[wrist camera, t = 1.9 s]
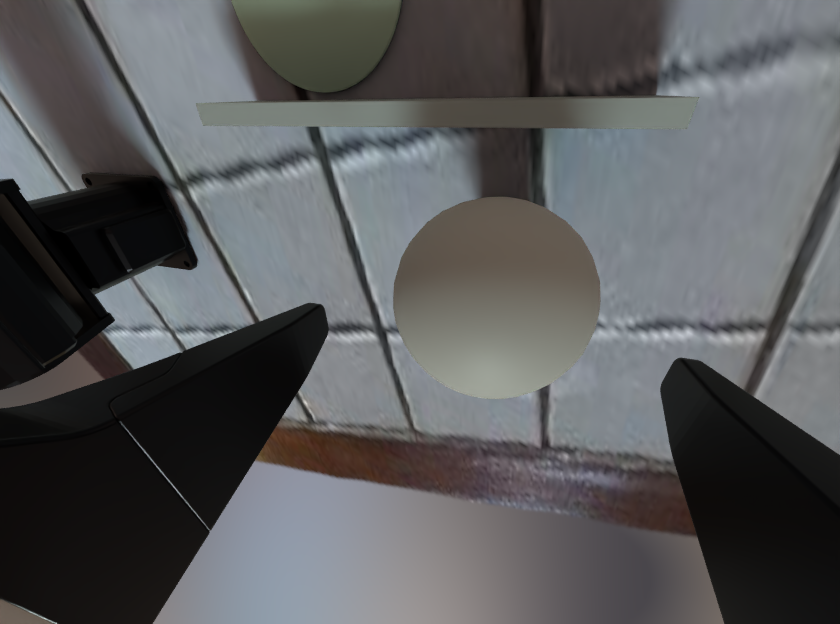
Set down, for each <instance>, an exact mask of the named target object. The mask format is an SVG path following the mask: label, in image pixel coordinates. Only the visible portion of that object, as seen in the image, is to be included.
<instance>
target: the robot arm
mask: <svg viewBox="0 0 840 624" xmlns="http://www.w3.org/2000/svg"><path fill="white" fill-rule="evenodd" d="M82 179H83V182H84V183H85V185H86V187H87V188H85V189H80V190H76V191H71V192H67V193H62V194H58V195H53V196H49V197H44V198H40V199H35V200H31V201H26V200H25V198H24V197H23V196H22V194H21V193H20V191H19V190H21V189H20V188H19V186H18V185H17V184H16V182H15V181H14V179H0V390H2V389H6V388H10V387H13V386H16V385H19V384H22V383H24V382H27V381H29V380H32V379H34V378H36V377H38V376H40V375H42V374H44V373H46V372H48V371H49V370H51V369H53V368H54V367H56V366H57V365H59V364H60V363H62V362H63V361H64V360H65V359H67V358H68V357H69V356H71V355H72V354H73V353H74V352H76V351H77V350H78V349H80V348H81V347H82V346H83V345H85V344H86V343H87V342H88V341H90V340H91V339H92V338H94V337H95V336H96V335H97V334H99V333H100V332H101V331H102V330H104V329H105V328H106V327H108V326H109V325H110V324H111V323H113V322H114V321H115V319H114V318H113V316H112V315H111V314H110V313H108V312H107V311H106V310H105V308H104V307H103V306H102V304H101V303H100V301H99V300H98V299H97V297H96V296H95V294H97V293H99V292H101V291H103V290H106V289H108V288H110V287H112V286H114V285H116V284H118V283H120V282H123V281H125V280H127V279H129V278H131V277H133V276H135V275H138V274H140V273H142V272H144V271H146V270H148V269H150V268H152V267H155V266H164V267H171V268H179V269H186V270H192V269H194V268H196V267H197V262H196V260H195V258H194V255H193V253H192V251H191V248H190V246H189V244H188V241H187V239H186V237H185V235H184V232H183V230H182V228H181V225H180V223H179V221H178V219H177V216H176V214H175V212H174V209H173V207H172V205H171V203H170V200H169V198H168V196H167V193H166V191H165V189H164V186H163V184H162V183H161V181H160V180H159V179H158V178H157V177H155V176H144V175H126V174H107V173H86V174H82ZM328 331H329V327H328V322H327V317H326V313H325V309H324V307H323V305H321V304H315V303H307V304H304V305H302V306H299V307H296V308H294V309H291V310H289V311H286V312H284V313H281V314H278V315H276V316H273V317H271V318H268V319H265V320H263V321H260V322H258V323H255V324H252V325H250V326H247V327H245V328H242V329H240V330H237V331H234V332H232V333H229V334H227V335H224V336H221V337H219V338H216V339H214V340H211V341H208V342H206V343H203V344H201V345H198V346H196V347H193V348H190V349H188V350H185V351H183V353H177V354H175V355H172V356H169V357H167V358H164V359H162V360H159V361H156V362H154V363H151V364H148V365H146V366H143V367H140V368H137V369H134V370H131V371H129V372H126V373H123V374H120V375H117V376H114V377H111V378H108V379H105V380H102V381H100V382H97V383H93V384H90V385H87V386H84V387H81V388H79V389H75V390H72V391H70V392H67V393H64V394H61V395H58V396H55V397H52V398H49V399H45V400H42V401H39V402H35V403H31V404H27V405H22V406H16V407H10V408H1V409H0V624H153V622H154V621H155V619H156V617H157V616H158V614H159V613H160V611H161V609H162V608H163V606H164V605H165V603H166V601H167V600H168V598H169V597H170V595H171V593H172V592H173V590H174V589H175V587H176V585H177V584H178V582H179V581H180V579H181V577H182V576H183V574H184V573H185V571H186V569H187V568H188V566H189V565H190V563H191V562H192V560H193V558H194V557H195V555H196V554H197V552H198V550H199V549H200V547H201V546H202V544H203V542H204V541H205V539H206V538H207V536H208V535H209V531H210V530H211V529H212V528H213V526H214V525H215V523H216V521H217V520H218V518H219V516H220V515H221V513H222V511H223V510H224V509H225V507H226V505H227V504H228V502H229V501H230V499H231V498H232V496H233V494H234V493H235V491H236V490H237V488H238V486H239V485H240V483H241V482H242V480H243V478H244V477H245V475H246V474H247V472H248V470H249V469H250V467H251V466H252V464H253V462H254V461H255V459H256V458H257V456H258V455H259V453H260V451H261V450H262V448H263V447H264V445H265V443H266V442H267V440H268V439H269V437H270V435H271V434H272V432H273V431H274V429H275V427H276V426H277V424H278V423H279V421H280V419H281V418H282V416H283V415H284V413H285V412H286V410H287V408H288V407H289V405H290V404H291V402H292V400H293V399H294V397H295V396H296V394H297V392H298V391H299V389H300V388H301V386H302V384H303V383H304V381H305V379H306V378H307V376H308V374H309V372H310V370H311V368H312V366H313V364H314V362H315V360H316V358H317V356H318V354H319V352H320V350H321V348H322V345H323V343H324V341H325V339H326V337H327V335H328ZM660 392H661V398H662V404H663V409H664V415H665V421H666V426H667V432H668V437H669V443H670V448H671V452H672V456H673V459H674V463H675V466H676V470H677V473H678V476H679V479H680V482H681V486H682V489H683V492H684V495H685V499H686V502H687V505H688V508H689V511H690V515H691V518H692V521H693V524H694V527H695V531H696V534H697V537H698V540H699V544H700V547H701V550H702V553H703V556H704V560H705V563H706V566H707V569H708V573H709V576H710V579H711V582H712V585H713V589H714V592H715V595H716V598H717V601H718V604H719V608H720V611H721V614H722V618H723V621H724V624H840V455H839V454H837V453H836V452H834V451H833V450H831V449H830V448H828V447H827V446H826V445H824V444H823V443H821V442H820V441H818V440H817V439H815V438H814V437H812V436H811V435H809V434H808V433H806V432H805V431H803V430H802V429H800V428H799V427H797V426H796V425H794V424H793V423H792V422H790V421H789V420H787V419H786V418H784V417H783V416H781V415H780V414H778V413H777V412H775V411H774V410H772V409H771V408H769V407H768V406H766V405H765V404H763V403H762V402H760V401H759V400H758V399H756V398H755V397H753V396H752V395H750V394H749V393H747V392H746V391H744V390H743V389H741V388H740V387H738V386H737V385H735V384H734V383H732V382H731V381H729V380H728V379H727V378H725V377H724V376H722V375H721V374H719V373H718V372H716V371H715V370H713V369H712V368H710V367H709V366H707V365H706V364H704V363H703V362H701V361H699V360H694V359H687V358H678V359H676V360H675V361H674V362H673V364H672V365H671V367H670V369H669V371H668V372H667V374H666V376H665V378H664V380H663V381H662V384H661V388H660Z"/></svg>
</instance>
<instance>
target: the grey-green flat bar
mask: <svg viewBox="0 0 840 624" xmlns="http://www.w3.org/2000/svg"><path fill="white" fill-rule="evenodd" d="M698 99H699V97H682V96H659V95H647V96H575V97H504V98H432V99H360V100H288V101H245V102H221V103H196V106H197V109H198V112H199V115H200V118H201V121H202V124H203V126H321V127H459V128H597V129H687V127H688V125H689V122H690V120H691V117H692V115H693V112H694V109H695V107H696V104H697V102H698Z"/></svg>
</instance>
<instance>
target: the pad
mask: <svg viewBox="0 0 840 624" xmlns="http://www.w3.org/2000/svg"><path fill="white" fill-rule="evenodd" d="M231 1H232V4H233V7H234V9H235V12H236V15H237V17H238V19H239V21H240V23H241V25H242V28H243V29H244V31H245V33H246V35H247V37H248V38H249V40H250V42H251V43H252V45H253V46H254V48H255V49H256V50H257V52H258V53H259V55H260V56H261V57H262V58H263V59H264V60H265V62H266V63H267V64H268V65H269V66H270V67H271V68H272V69H273V70H274V71H275V72H276V73H278V74H279V75H280V76H282V77H283V78H284V79H285V80H287V81H289V82H290V83H292V84H294V85H296V86H298V87H301V88H303V89H306V90H310V91H314V92H325V93H326V92H337V91H341V90H345V89H348V88H350V87H352V86H354V85H356V84H358V83H359V82H360V81H362V80H363V79H364V78H366V77H367V76H368V75H369V74H370V73H371V72H372V71H373V70H374V69H375V67H376V66H377V65H378V63H379V62H380V61H381V59H382V58H383V56H384V54H385V52H386V50H387V49H388V47H389V45H390V42H391V40H392V37H393V35H394V32H395V29H396V26H397V22H398V19H399V15H400V10H401V5H402V0H231Z"/></svg>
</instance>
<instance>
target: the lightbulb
mask: <svg viewBox="0 0 840 624" xmlns="http://www.w3.org/2000/svg"><path fill="white" fill-rule="evenodd" d="M393 308H394V314H395V321H396V324H397V327H398V330H399V332H400V335H401V337H402V340H403V342H404V344H405V346H406V348H407V349H408V351H409V352H410V354H411V356H412V357H413V358H414V359H415V360H416V362H417V363H418V364H419V365H420V366H421V367H422V368H423V369H424V370H425V371H426V372H427V373H428V374H429V375H430V376H431V377H433V378H434V379H435V380H436V381H438V382H440V383H441V384H443V385H444V386H446V387H448V388H450V389H452V390H455V391H457V392H459V393H462V394H466V395H469V396H473V397H479V398H486V399H505V398H512V397H518V396H521V395H524V394H528V393H531V392H534V391H536V390H539V389H541V388H543V387H545V386H547V385H549V384H551V383H552V382H553V381H555V380H556V379H557V378H559V377H560V376H561V375H563V374H564V373H565V372H566V371H568V370H569V369H570V368H571V367H572V366H573V365H574V364H575V363H576V361H577V360H578V359H579V358H580V357H581V356H582V354H583V353H584V351H585V349H586V347H587V345H588V343H589V341H590V339H591V337H592V335H593V333H594V330H595V327H596V323H597V319H598V315H599V310H600V280H599V277H598V273H597V270H596V266H595V263H594V260H593V257H592V255H591V253H590V251H589V250H588V248H587V246H586V244H585V243H584V241H583V239H582V237H581V236H580V235H579V234H578V233H577V232H576V231H575V230H574V229H573V228H572V227H571V226H570V225H569V224H568V223H567V222H566V221H565V220H563V219H562V218H560V217H559V216H557V215H556V214H554V213H553V212H551V211H550V210H548V209H546V208H544V207H542V206H539V205H537V204H534V203H532V202H529V201H527V200H522V199H516V198H511V197H484V198H480V199H475V200H471V201H466V202H463V203H460V204H458V205H455V206H453V207H451V208H449V209H447V210H444V211H442V212H441V213H440V214H438V215H437V216H435V217H434V218H433V219H431V220H430V221H429V222H427V223H426V224H425V226H424V227H423V228H422V229H421V230H420V231H419V232H418V233H417V234H416V236H415V237H414V238H413V239H412V241H411V242H410V243H409V245H408V247H407V249H406V250H405V252H404V254H403V256H402V258H401V261H400V264H399V268H398V271H397V275H396V278H395V282H394V296H393Z"/></svg>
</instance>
